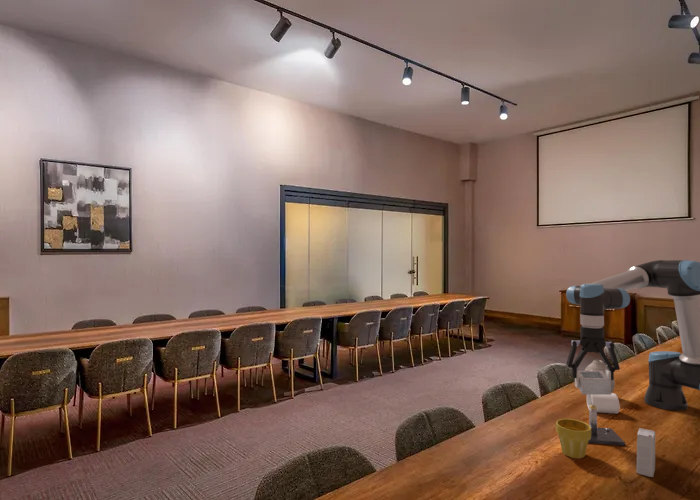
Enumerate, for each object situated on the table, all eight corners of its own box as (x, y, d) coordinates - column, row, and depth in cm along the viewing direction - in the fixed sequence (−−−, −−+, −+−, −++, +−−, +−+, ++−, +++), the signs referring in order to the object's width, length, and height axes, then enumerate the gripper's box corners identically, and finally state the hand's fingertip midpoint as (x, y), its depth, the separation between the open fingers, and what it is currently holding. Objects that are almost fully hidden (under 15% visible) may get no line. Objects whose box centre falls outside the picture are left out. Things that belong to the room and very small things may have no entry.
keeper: (611, 431, 156) (611, 400, 156) (625, 445, 144) (624, 412, 144) (564, 427, 160) (564, 397, 160) (574, 441, 148) (573, 409, 148)
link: (603, 384, 156) (601, 370, 155) (611, 394, 147) (609, 379, 147) (576, 385, 158) (575, 370, 158) (582, 394, 150) (581, 379, 149)
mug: (620, 416, 171) (619, 397, 171) (593, 414, 173) (593, 395, 173) (608, 406, 182) (607, 387, 183) (583, 404, 184) (582, 386, 185)
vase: (584, 399, 190) (584, 362, 191) (580, 391, 202) (580, 356, 203) (617, 403, 186) (617, 365, 186) (611, 394, 198) (611, 358, 198)
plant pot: (590, 464, 132) (590, 433, 132) (554, 456, 137) (554, 426, 137) (592, 451, 140) (591, 422, 141) (557, 444, 146) (557, 416, 146)
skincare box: (638, 465, 131) (637, 426, 131) (656, 470, 128) (655, 430, 128) (636, 473, 126) (635, 433, 126) (654, 478, 123) (653, 437, 123)
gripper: (621, 325, 154) (622, 386, 153) (556, 323, 159) (556, 382, 158) (630, 329, 146) (631, 393, 146) (561, 326, 151) (562, 389, 151)
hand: (592, 387), depth 152 cm, fingers closed on link, 10 cm apart
